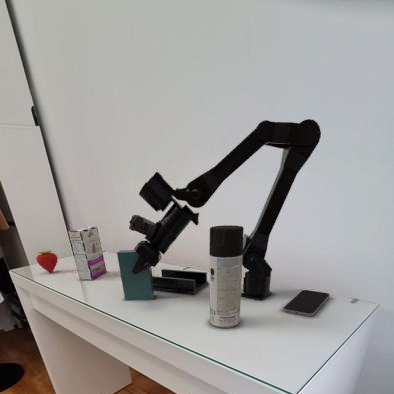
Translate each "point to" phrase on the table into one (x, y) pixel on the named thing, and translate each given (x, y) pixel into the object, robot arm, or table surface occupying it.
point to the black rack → (180, 281)
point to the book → (135, 277)
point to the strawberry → (47, 260)
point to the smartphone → (306, 303)
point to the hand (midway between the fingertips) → (134, 271)
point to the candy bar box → (88, 252)
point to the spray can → (225, 275)
